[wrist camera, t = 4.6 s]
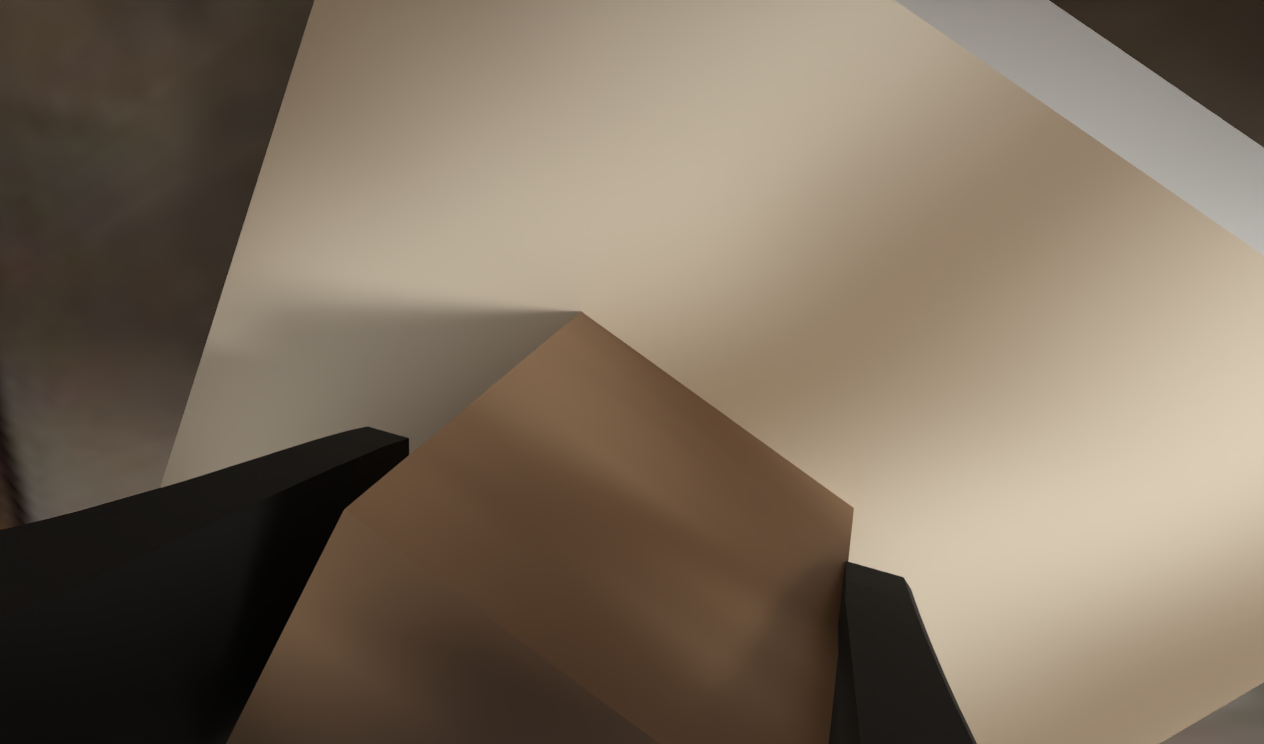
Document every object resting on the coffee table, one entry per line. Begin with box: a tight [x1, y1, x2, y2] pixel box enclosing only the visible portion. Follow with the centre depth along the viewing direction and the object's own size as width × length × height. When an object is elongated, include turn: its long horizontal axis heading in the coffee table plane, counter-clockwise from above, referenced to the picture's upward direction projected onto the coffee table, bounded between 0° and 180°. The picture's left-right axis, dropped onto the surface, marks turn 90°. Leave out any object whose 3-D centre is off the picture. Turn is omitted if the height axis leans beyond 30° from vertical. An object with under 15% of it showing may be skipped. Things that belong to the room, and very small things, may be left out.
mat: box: [895, 0, 1264, 256], centre depth 17 cm, size 16×16×1 cm
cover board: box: [160, 0, 1264, 744], centre depth 9 cm, size 13×13×5 cm
